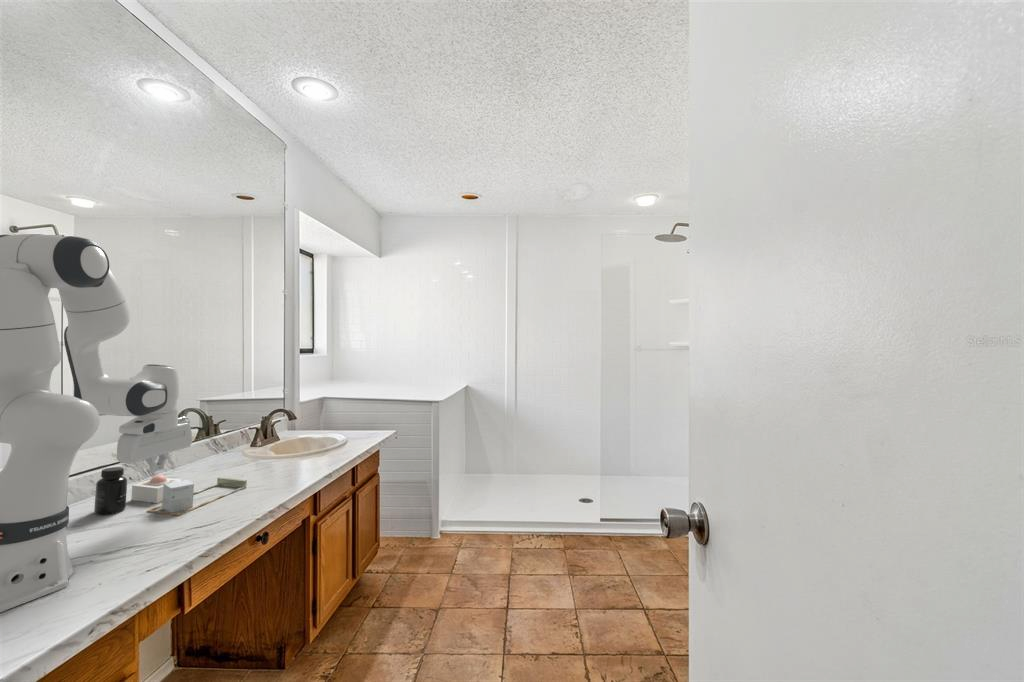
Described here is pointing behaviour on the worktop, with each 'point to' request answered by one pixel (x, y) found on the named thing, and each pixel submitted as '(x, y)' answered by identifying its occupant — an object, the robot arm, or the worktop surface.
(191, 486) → the product box
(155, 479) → the white pink rounded piece
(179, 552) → the worktop surface
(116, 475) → the supplement bottle
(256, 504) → the worktop surface
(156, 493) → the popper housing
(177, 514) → the track
